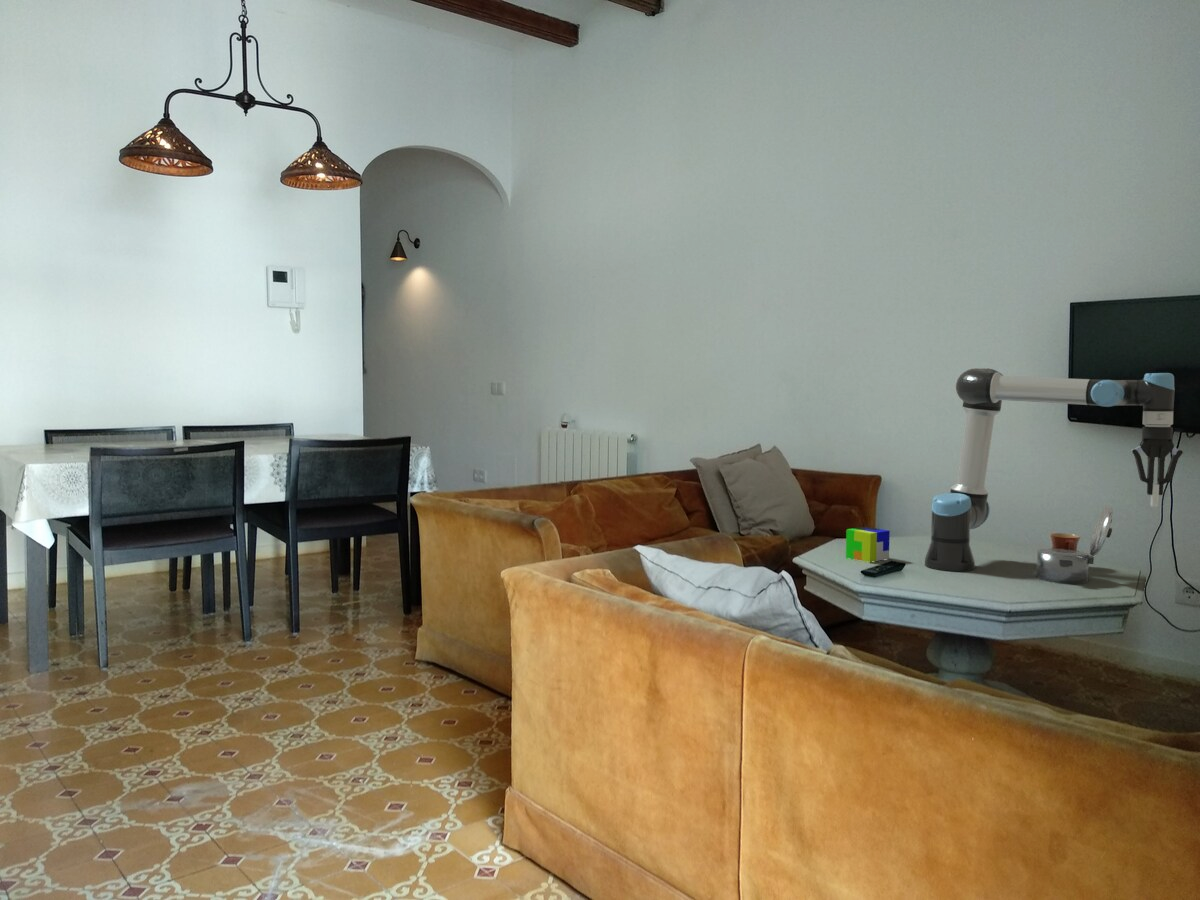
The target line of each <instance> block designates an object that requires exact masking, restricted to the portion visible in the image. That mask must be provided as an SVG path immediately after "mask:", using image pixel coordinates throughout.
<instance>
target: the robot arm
mask: <svg viewBox="0 0 1200 900" xmlns="http://www.w3.org/2000/svg"><path fill="white" fill-rule="evenodd" d="M955 383H956V384H955V391H956V394H957V395H958V397H959V399H960V400H962V409H963V410H964V411H965V414H966V415H965V423H964V429H963V436H962V443H961V450H960V454H959V455H960V457H959V463H958V472H957V475H956V476H957V479H956V483H955V484H954V485H952V486H951V487H950V492H947V493H940V494H936V495H935V496H934V497H933V498H932V502H931V503H932V504H931V529H930V530H931V536H930V543H929V547H928V550H927V551H926V554H925V557H924V566H926V567H927V568H931V569H935V570H940V571H941V570H942V571H951V572H967V571H972V570H974V569H975V563H976V562H975V558H974V556H973V555H974V554H973V552H972V549H971V546H970V545H971V544H970V542H971V541H970V539H971V538H970V537H971V536H970V535H971V530H974V529H977V528H979V527H981V526H982V525H983V524H984V523H985V522H986V521H987V520H988V518H989V516H990V510H991V509H990V505H989V503H988V496H989V491H988V490H987V489H986V488H985V481H986V475H987V469H988V462H989V456H990V455H989V454H990V448H991V441H992V435H993V429H994V422H995V417H996V415H998V414H999V413H1000V412H1001V409H1002V403H1003V401H1007V402H1008V401H1012V402H1025V403H1026V402H1027V403H1028V402H1029V403H1030V402H1032V403H1046V404H1047V403H1049V404H1066V405H1067V404H1068V405H1084V406H1095V407H1096V406H1100V407H1104V408H1105V407H1106V408H1110V407H1116V406H1117V407H1118V406H1142V425H1144V426H1142V428H1141V430H1142V431H1141V442H1140V443H1139V446H1137V447H1136V448H1132V449H1131V450H1130V453H1131V454H1132V455H1133V457H1134V459H1135V463H1136V467H1137V472H1138V473H1137V474H1138V476H1139V480H1140V481H1141V482H1143V483H1146V494H1147V495H1148V496H1150V507H1152V508H1156V507H1157V508H1158V507H1159V498H1160V496H1163V494H1164V485H1165V484H1167V483H1171V482H1172V479H1173V477H1174V473H1175V470H1176V467H1177V465H1178V464H1177V463H1178V461H1179V458H1180V457H1181V456H1182V455H1183V453H1184V452H1183V450H1181V449H1179V448H1177V447H1175V444H1174V442H1173V431H1174V429H1173V426H1172V425H1174V406H1175V404H1174V402H1175V392H1176V391H1175V390H1176V389H1175V376H1174V374H1173V373H1170V372H1157V373H1156V372H1154V373H1153V372H1152V373H1150V372H1149V373H1147V372H1146V373H1145V374H1144V376H1143V378H1142V379H1121V380H1120V379H1119V380H1118V379H1089V378H1065V377H1064V378H1063V377H1043V376H1042V377H1039V376H1038V377H1037V376H1015V375H1012V376H1011V375H1004V374H1003V373H1002V372H1001V371H998V370H996V369H993V368H985V367H984V368H970V369H967V370H965V371H964V372H962V373H961V374H960V375H959V376H958V378H957V381H956V382H955ZM1142 452H1143V454H1145V455H1146V457H1147V471H1145V469H1144V464H1143V459H1142V457H1141V454H1142ZM1170 453H1171V455H1172V456H1171V458H1170V462H1169V464H1168V467H1167V470H1166V473H1165V462H1166V457H1167V456H1168V455H1169V454H1170ZM1156 458H1157V476H1156V477H1157V479H1156V483H1154V479H1155V478H1154V476H1155V475H1154V474H1155V460H1156ZM1146 473H1147V474H1146Z"/></svg>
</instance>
